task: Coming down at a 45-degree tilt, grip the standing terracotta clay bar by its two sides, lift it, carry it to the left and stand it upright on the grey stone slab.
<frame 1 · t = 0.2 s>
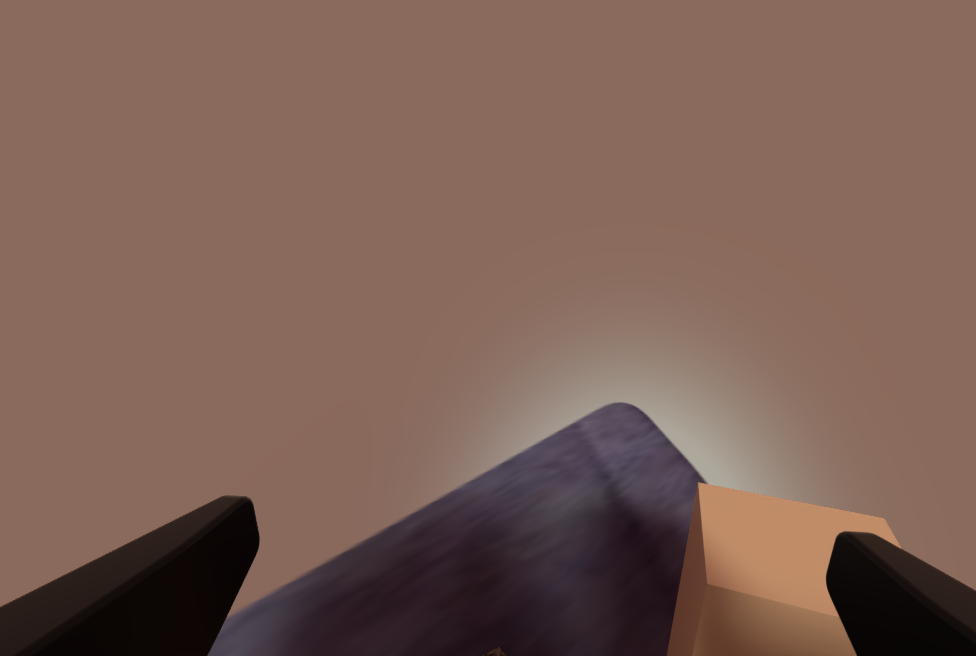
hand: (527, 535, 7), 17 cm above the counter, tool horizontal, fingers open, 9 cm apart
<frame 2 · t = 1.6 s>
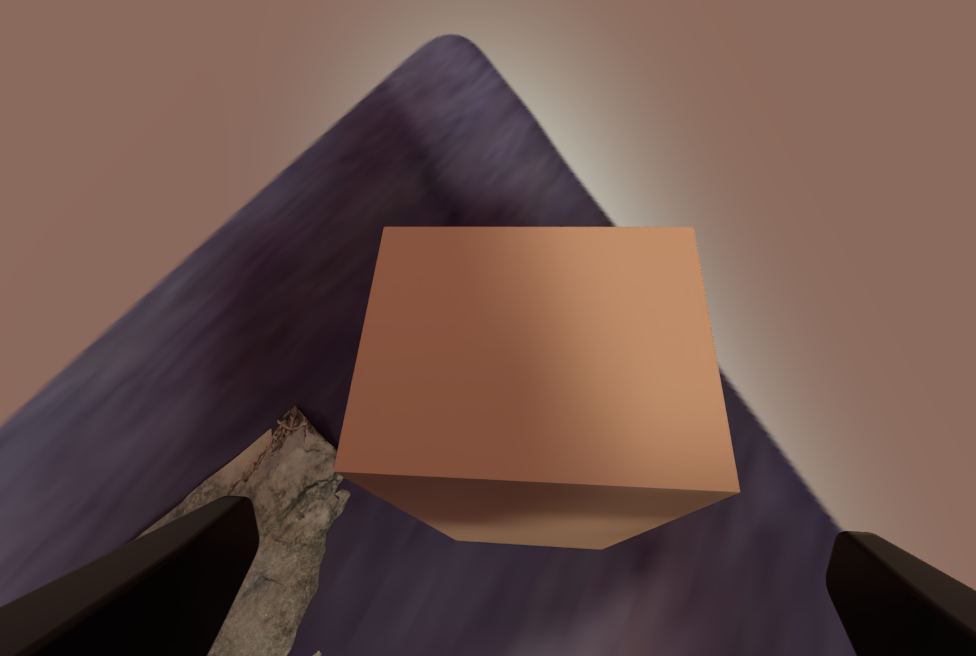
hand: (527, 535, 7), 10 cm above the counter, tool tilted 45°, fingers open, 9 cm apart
clay bar: (529, 484, 17), on the counter
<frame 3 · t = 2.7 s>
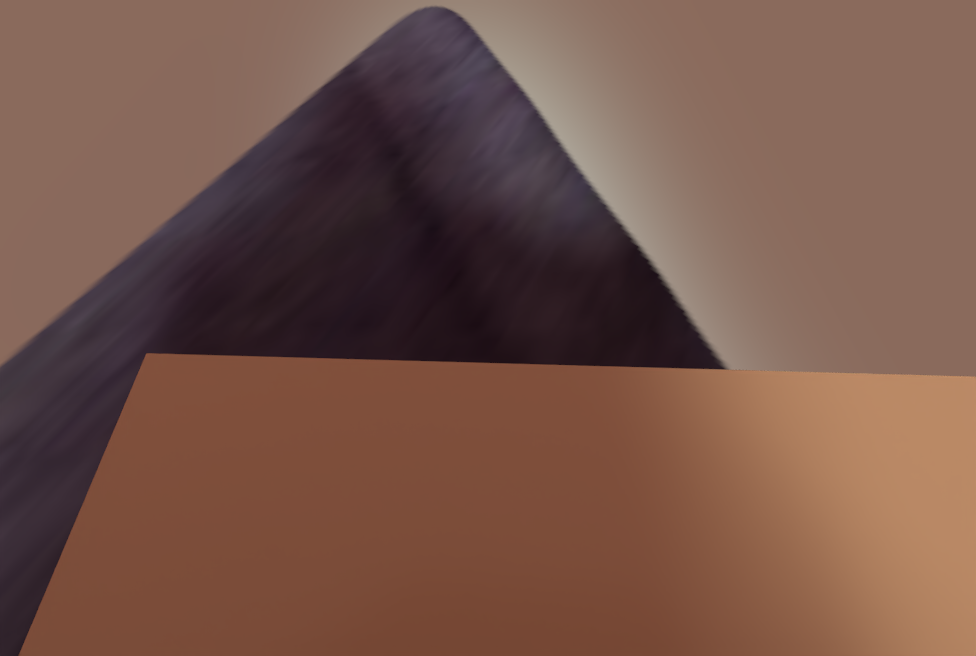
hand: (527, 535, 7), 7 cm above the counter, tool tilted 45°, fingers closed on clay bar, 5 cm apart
clay bar: (526, 609, 13), on the counter, touching gripper
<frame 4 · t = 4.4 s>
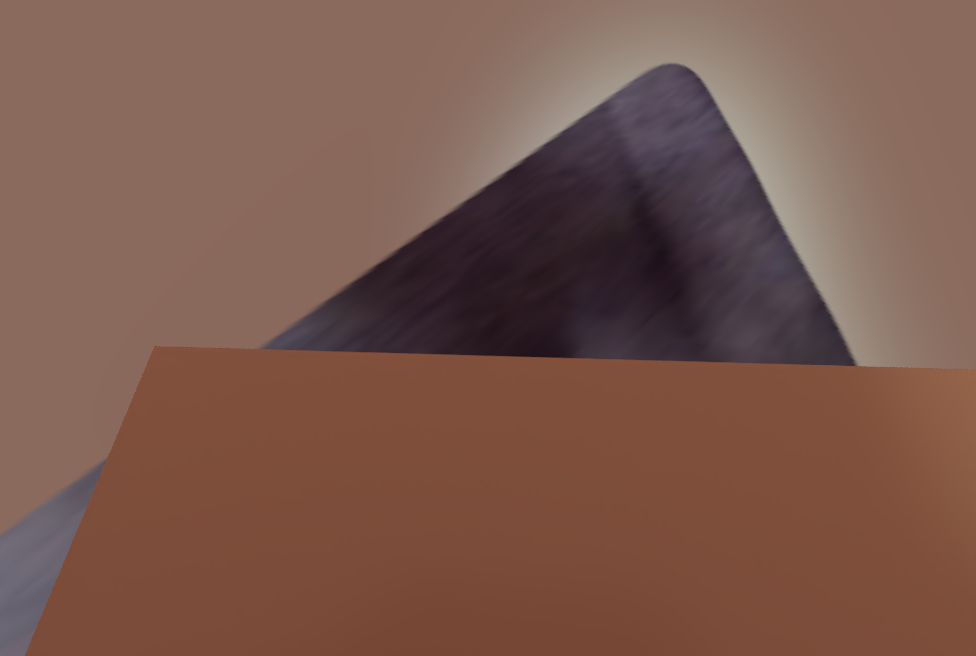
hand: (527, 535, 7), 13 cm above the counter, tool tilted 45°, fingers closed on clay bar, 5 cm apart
clay bar: (527, 607, 13), point 7 cm above the counter, touching gripper
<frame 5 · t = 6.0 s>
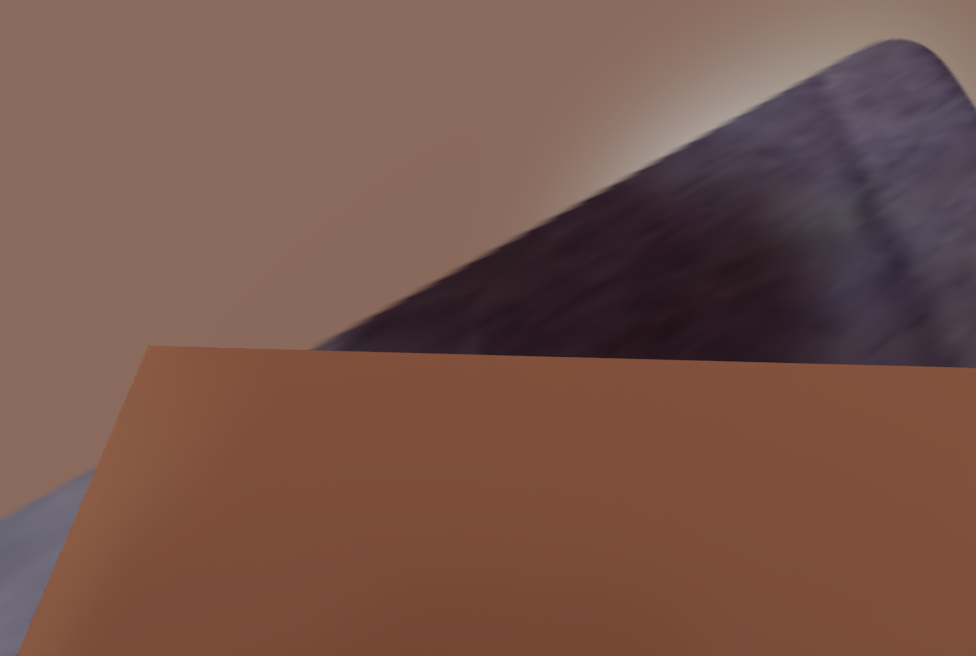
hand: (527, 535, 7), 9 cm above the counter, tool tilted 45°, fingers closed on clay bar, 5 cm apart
clay bar: (526, 607, 13), point 3 cm above the counter, touching gripper
when the fingers open (9 cm above the counter, at t = 6.4 s): clay bar drops 2 cm, resting on stone slab.
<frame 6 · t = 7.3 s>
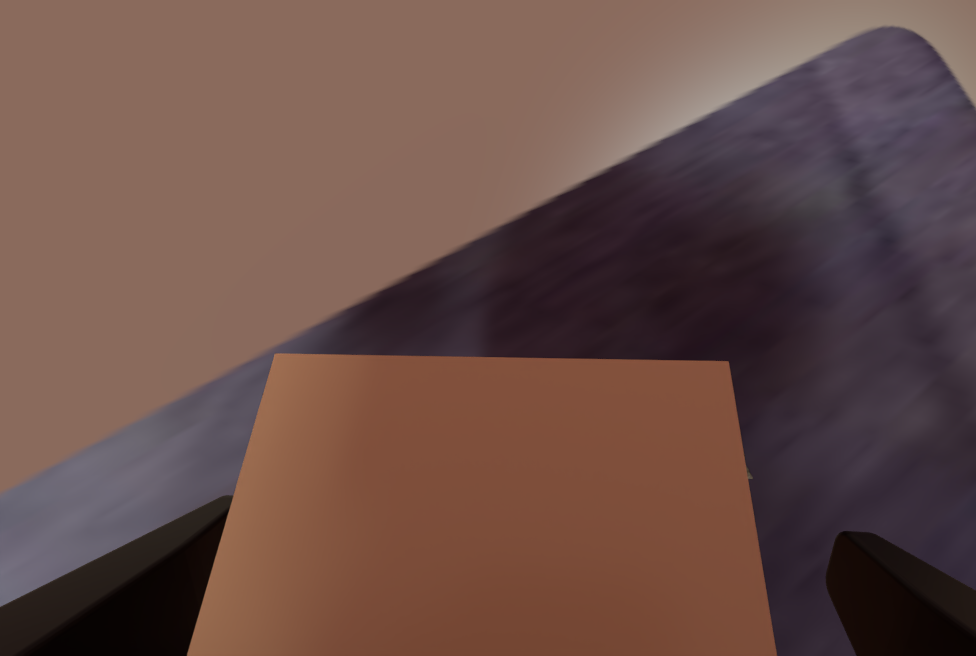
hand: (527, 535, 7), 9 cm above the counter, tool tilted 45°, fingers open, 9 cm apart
clay bar: (530, 565, 15), point 1 cm above the counter, touching stone slab
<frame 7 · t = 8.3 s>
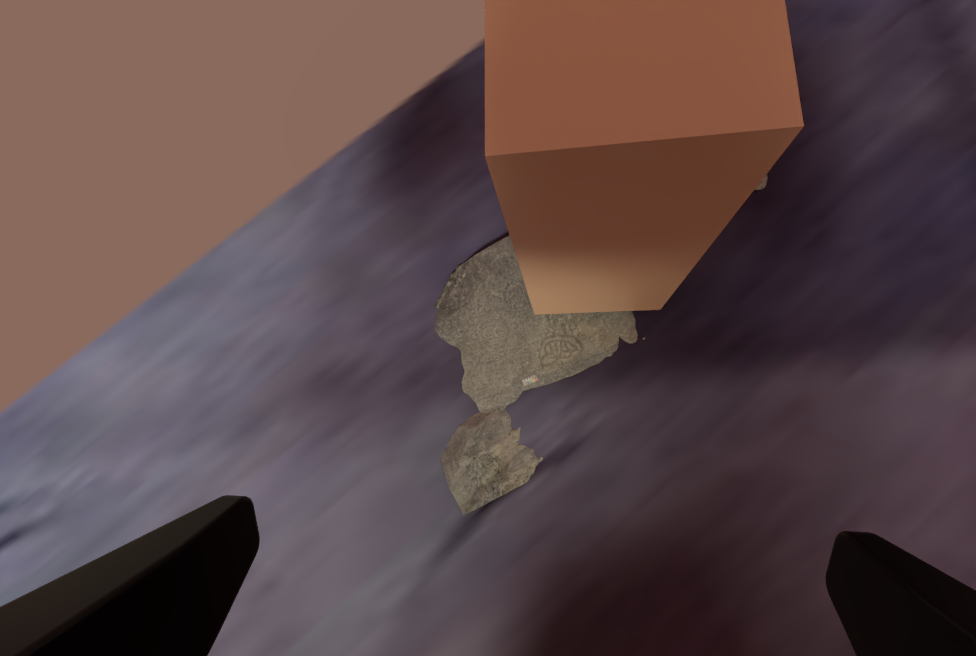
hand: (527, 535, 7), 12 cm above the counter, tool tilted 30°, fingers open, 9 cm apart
stone slab: (601, 315, 21), on the counter, touching clay bar
clay bar: (593, 265, 20), point 1 cm above the counter, touching stone slab
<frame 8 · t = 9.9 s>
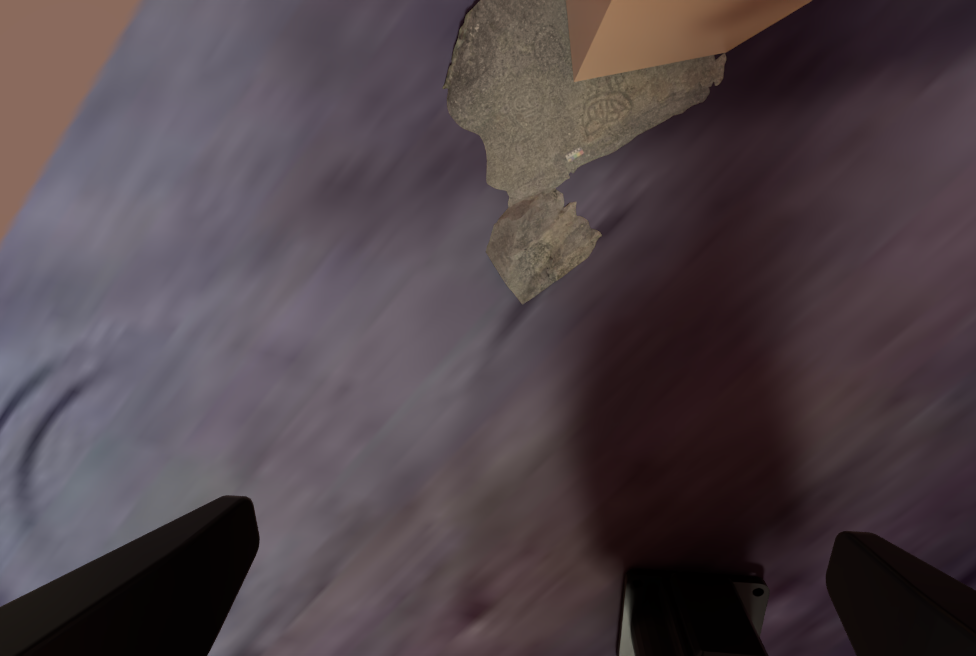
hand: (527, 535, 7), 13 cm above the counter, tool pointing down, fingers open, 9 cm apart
stone slab: (647, 57, 17), on the counter, touching clay bar
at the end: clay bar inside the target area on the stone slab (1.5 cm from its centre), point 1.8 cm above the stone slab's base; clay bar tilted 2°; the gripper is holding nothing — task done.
